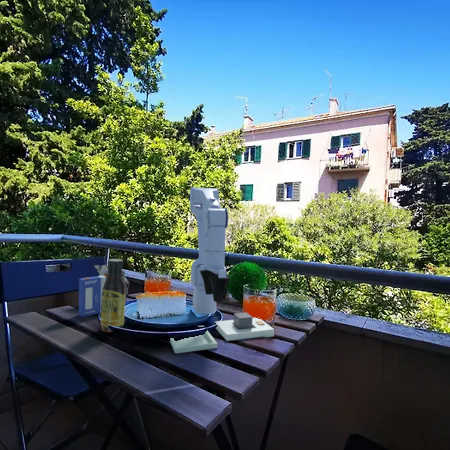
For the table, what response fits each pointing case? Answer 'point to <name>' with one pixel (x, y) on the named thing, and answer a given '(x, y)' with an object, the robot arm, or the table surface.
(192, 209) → the robot arm
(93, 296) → the walkman
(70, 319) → the table surface
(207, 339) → the tray
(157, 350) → the table surface
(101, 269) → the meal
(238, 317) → the plug
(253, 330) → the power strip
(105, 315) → the sauce bottle
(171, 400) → the table surface
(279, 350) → the table surface
